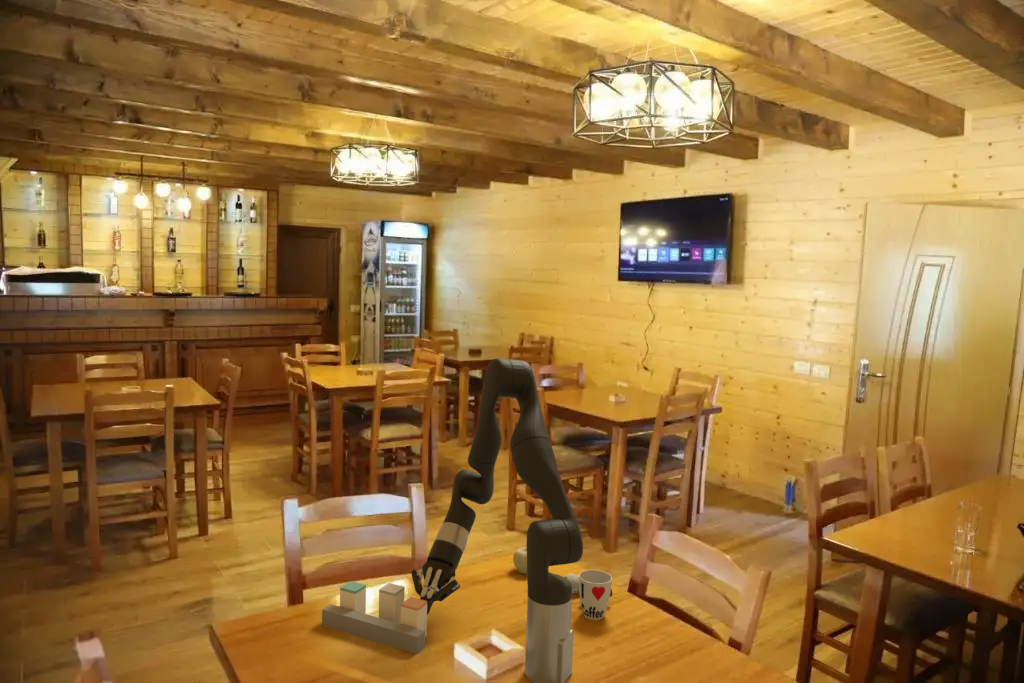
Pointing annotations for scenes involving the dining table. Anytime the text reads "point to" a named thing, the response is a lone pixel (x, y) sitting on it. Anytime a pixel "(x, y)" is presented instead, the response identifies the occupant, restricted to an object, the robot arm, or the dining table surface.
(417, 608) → the beige and orange block
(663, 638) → the dining table surface
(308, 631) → the dining table surface
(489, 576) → the dining table surface
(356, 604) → the beige and green block
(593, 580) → the cup
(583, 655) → the dining table surface
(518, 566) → the fruit
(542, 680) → the robot arm
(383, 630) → the grey base
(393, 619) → the beige tall block
